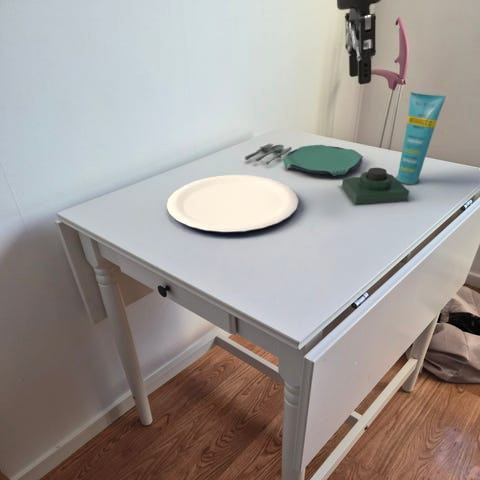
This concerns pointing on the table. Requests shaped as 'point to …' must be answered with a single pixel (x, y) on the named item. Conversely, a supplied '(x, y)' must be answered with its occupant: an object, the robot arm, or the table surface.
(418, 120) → the tube
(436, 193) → the table surface
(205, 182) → the plate
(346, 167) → the cutlery set
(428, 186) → the table surface
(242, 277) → the table surface
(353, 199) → the pump base
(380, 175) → the button
